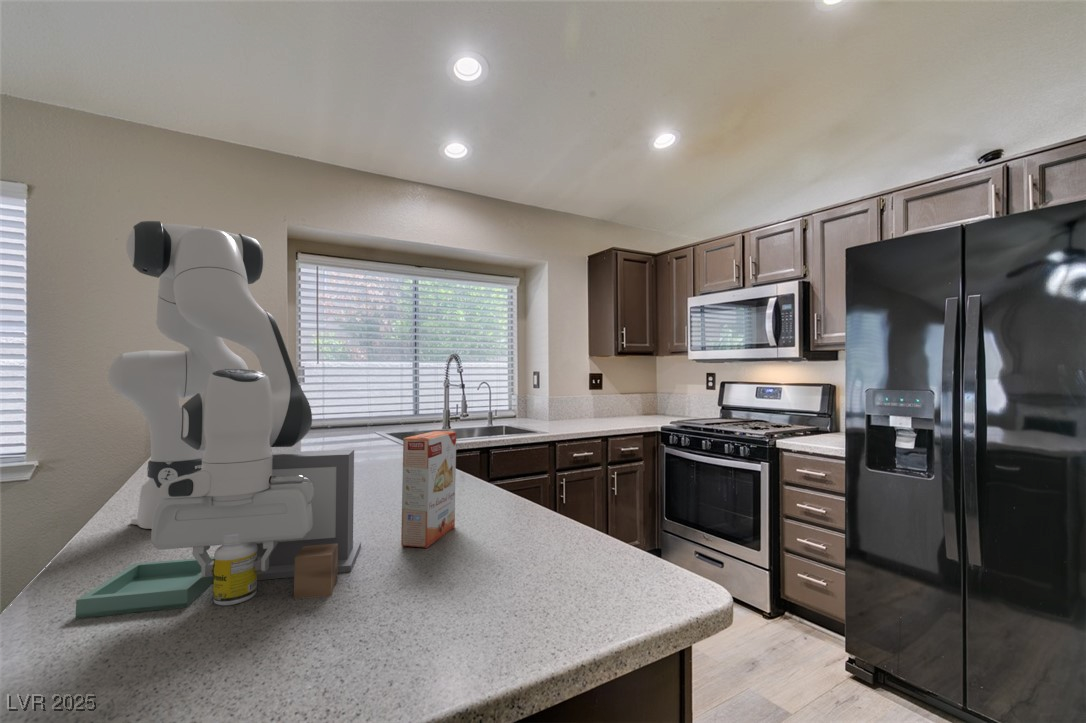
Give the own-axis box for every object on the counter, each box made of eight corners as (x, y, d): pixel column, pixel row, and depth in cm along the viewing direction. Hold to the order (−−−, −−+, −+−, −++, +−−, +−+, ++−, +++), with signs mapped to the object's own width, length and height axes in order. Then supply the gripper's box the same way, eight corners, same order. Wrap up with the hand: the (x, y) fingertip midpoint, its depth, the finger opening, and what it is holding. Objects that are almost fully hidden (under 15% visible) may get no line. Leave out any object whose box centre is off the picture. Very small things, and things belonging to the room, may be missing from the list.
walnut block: (302, 585, 73) (303, 546, 73) (337, 581, 74) (337, 543, 75) (294, 599, 68) (294, 557, 69) (330, 595, 69) (331, 554, 70)
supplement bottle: (208, 598, 69) (210, 530, 69) (250, 586, 72) (252, 522, 73) (218, 610, 65) (219, 539, 65) (261, 597, 69) (263, 530, 69)
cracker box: (429, 549, 88) (429, 438, 89) (399, 547, 89) (400, 437, 90) (457, 526, 102) (457, 430, 103) (431, 525, 103) (432, 430, 104)
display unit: (243, 556, 85) (246, 451, 86) (360, 546, 90) (362, 447, 91) (214, 584, 73) (217, 462, 74) (350, 571, 78) (352, 456, 79)
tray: (134, 579, 75) (135, 563, 76) (225, 570, 79) (226, 555, 79) (75, 618, 63) (76, 599, 63) (187, 607, 66) (187, 589, 66)
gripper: (318, 470, 75) (317, 558, 74) (170, 477, 70) (168, 571, 70) (309, 478, 69) (307, 574, 68) (146, 486, 64) (142, 589, 63)
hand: (235, 572), depth 69 cm, fingers closed on supplement bottle, 5 cm apart
